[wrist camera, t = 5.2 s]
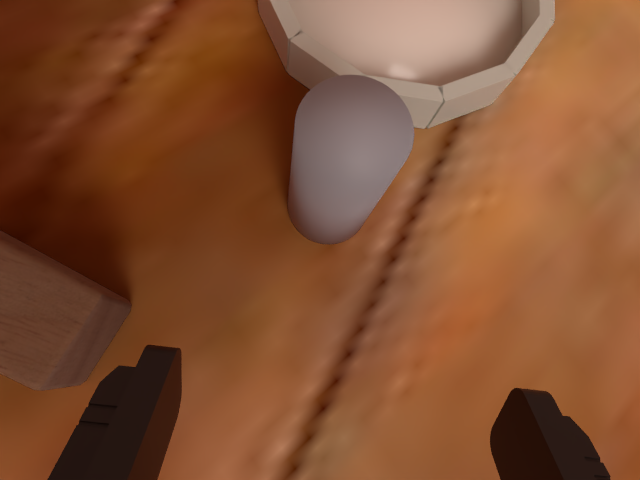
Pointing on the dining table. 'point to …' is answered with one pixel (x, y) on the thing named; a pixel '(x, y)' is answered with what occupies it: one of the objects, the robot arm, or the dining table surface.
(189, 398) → the dining table surface
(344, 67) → the round tray
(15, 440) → the dining table surface
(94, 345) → the wooden block
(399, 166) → the grey peg
